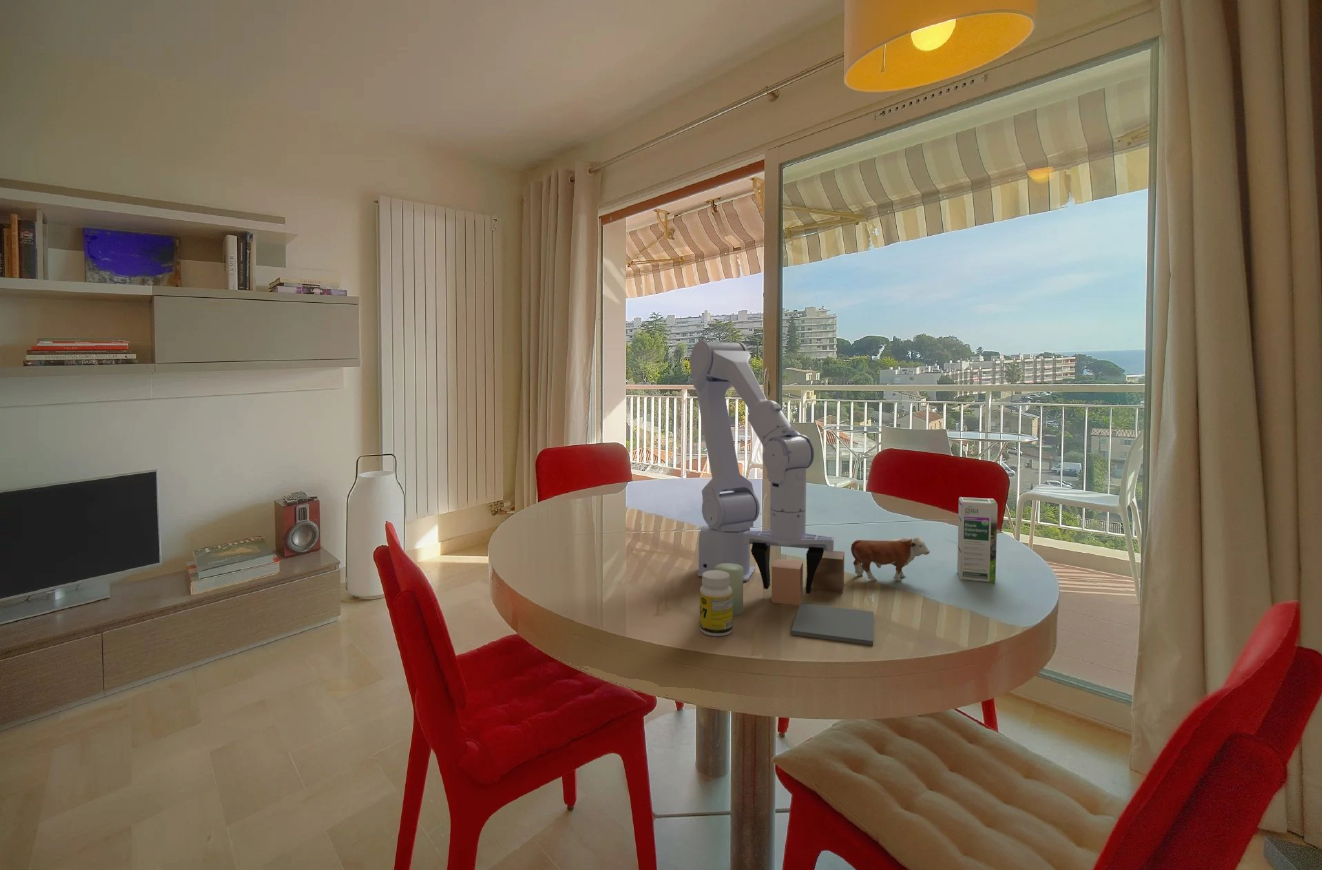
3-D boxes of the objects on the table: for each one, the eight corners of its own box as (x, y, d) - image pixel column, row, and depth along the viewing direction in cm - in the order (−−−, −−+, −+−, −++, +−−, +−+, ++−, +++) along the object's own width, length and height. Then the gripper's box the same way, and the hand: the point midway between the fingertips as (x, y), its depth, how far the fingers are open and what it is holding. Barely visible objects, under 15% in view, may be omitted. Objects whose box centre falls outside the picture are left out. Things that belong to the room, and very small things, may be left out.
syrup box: (959, 580, 105) (961, 501, 104) (956, 570, 111) (958, 495, 110) (995, 584, 103) (998, 503, 102) (990, 573, 109) (993, 497, 108)
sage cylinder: (712, 614, 91) (711, 570, 91) (719, 604, 95) (718, 562, 95) (739, 617, 90) (739, 573, 89) (745, 607, 94) (745, 564, 93)
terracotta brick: (771, 602, 96) (771, 566, 95) (776, 593, 100) (776, 559, 100) (799, 605, 94) (799, 569, 94) (802, 596, 99) (803, 561, 98)
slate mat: (791, 634, 83) (791, 630, 83) (800, 607, 94) (800, 603, 94) (873, 645, 79) (873, 641, 79) (873, 615, 90) (873, 611, 90)
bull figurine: (930, 585, 103) (931, 539, 103) (851, 581, 106) (852, 536, 105) (924, 577, 107) (925, 533, 107) (848, 573, 110) (849, 530, 109)
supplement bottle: (697, 624, 87) (697, 569, 87) (728, 623, 88) (728, 568, 87) (702, 638, 82) (702, 580, 82) (735, 636, 83) (735, 578, 82)
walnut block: (812, 590, 101) (812, 556, 101) (815, 581, 106) (815, 549, 105) (842, 593, 99) (842, 559, 99) (844, 584, 104) (844, 551, 104)
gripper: (739, 511, 95) (739, 592, 96) (832, 516, 90) (830, 602, 91) (748, 502, 101) (748, 579, 102) (835, 507, 96) (834, 588, 97)
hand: (787, 589), depth 97 cm, fingers open, 6 cm apart
